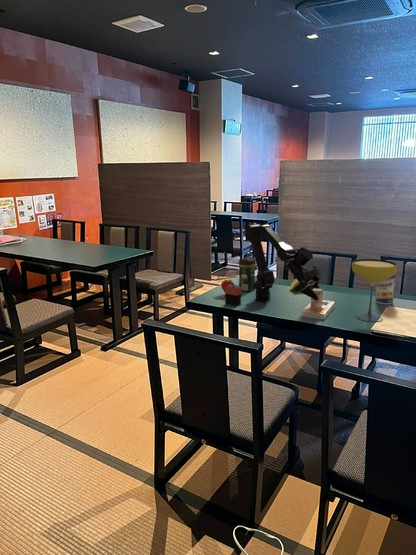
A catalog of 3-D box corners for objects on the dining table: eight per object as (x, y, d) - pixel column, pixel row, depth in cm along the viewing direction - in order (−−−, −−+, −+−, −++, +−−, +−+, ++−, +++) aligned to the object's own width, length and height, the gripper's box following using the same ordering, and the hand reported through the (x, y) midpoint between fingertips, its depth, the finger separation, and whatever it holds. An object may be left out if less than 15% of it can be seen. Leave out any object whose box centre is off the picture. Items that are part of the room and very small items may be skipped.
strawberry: (224, 292, 222) (224, 274, 219) (236, 294, 218) (236, 276, 216) (218, 295, 217) (218, 277, 214) (231, 297, 213) (231, 278, 211)
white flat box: (301, 316, 183) (302, 310, 183) (314, 303, 201) (314, 298, 200) (324, 319, 179) (324, 313, 178) (334, 306, 196) (335, 301, 196)
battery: (237, 306, 197) (237, 287, 195) (224, 304, 201) (224, 285, 198) (241, 304, 201) (241, 285, 198) (229, 302, 204) (229, 283, 202)
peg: (310, 315, 185) (311, 290, 182) (312, 312, 188) (314, 287, 185) (318, 316, 183) (320, 291, 180) (321, 314, 186) (323, 289, 183)
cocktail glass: (380, 311, 190) (385, 258, 184) (399, 324, 172) (405, 267, 166) (341, 311, 189) (346, 259, 183) (357, 325, 172) (362, 267, 166)
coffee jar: (244, 286, 233) (244, 255, 228) (256, 288, 229) (257, 256, 224) (236, 290, 225) (236, 258, 220) (249, 292, 221) (249, 259, 216)
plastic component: (312, 288, 220) (295, 280, 221) (305, 299, 223) (289, 291, 224) (314, 277, 238) (298, 269, 239) (307, 287, 241) (292, 279, 242)
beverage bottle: (395, 302, 203) (399, 263, 198) (389, 305, 197) (393, 265, 192) (378, 298, 209) (382, 260, 204) (372, 302, 203) (375, 263, 198)
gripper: (301, 264, 174) (324, 293, 171) (318, 257, 189) (340, 283, 185) (284, 279, 181) (306, 307, 177) (302, 271, 195) (322, 297, 191)
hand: (319, 298), depth 182 cm, fingers open, 5 cm apart
